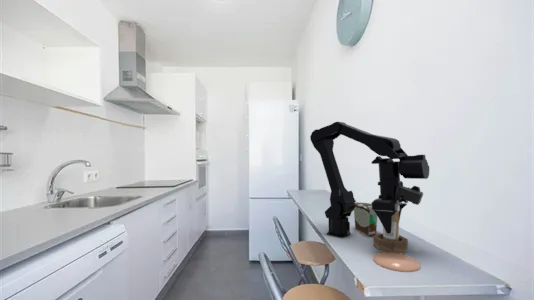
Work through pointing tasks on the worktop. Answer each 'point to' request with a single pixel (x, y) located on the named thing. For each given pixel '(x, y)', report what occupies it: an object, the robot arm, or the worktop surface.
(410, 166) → the robot arm
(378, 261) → the peach round disc
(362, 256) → the worktop surface
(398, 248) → the ring
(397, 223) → the sprinkles bottle
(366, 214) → the food container
